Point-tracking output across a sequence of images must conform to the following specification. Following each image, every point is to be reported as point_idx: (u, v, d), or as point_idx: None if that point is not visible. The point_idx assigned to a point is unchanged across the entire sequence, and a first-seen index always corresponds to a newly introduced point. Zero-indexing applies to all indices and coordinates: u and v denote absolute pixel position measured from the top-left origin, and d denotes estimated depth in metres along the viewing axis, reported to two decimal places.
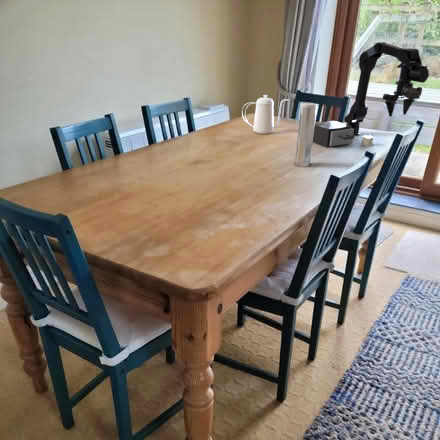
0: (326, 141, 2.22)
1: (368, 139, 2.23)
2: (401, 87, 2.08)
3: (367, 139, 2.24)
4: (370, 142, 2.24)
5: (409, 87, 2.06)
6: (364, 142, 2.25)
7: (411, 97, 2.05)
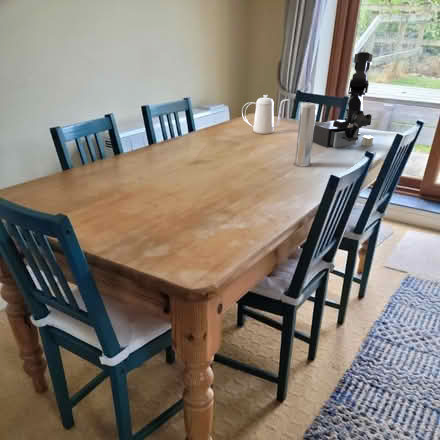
0: (326, 141, 2.22)
1: (368, 139, 2.23)
2: (351, 114, 2.09)
3: (367, 139, 2.24)
4: (370, 142, 2.24)
5: (359, 114, 2.08)
6: (364, 142, 2.25)
7: (360, 124, 2.07)
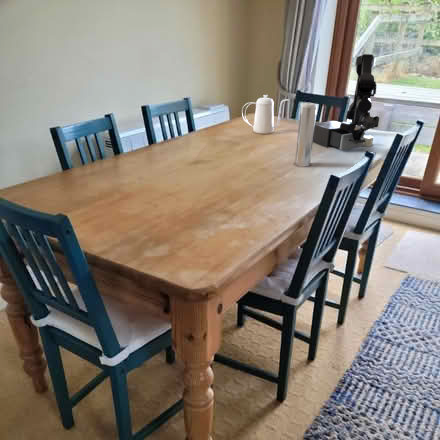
0: (326, 141, 2.22)
1: (368, 139, 2.23)
2: (358, 116, 2.06)
3: (367, 139, 2.24)
4: (370, 142, 2.24)
5: (366, 116, 2.05)
6: (364, 142, 2.25)
7: (368, 126, 2.03)
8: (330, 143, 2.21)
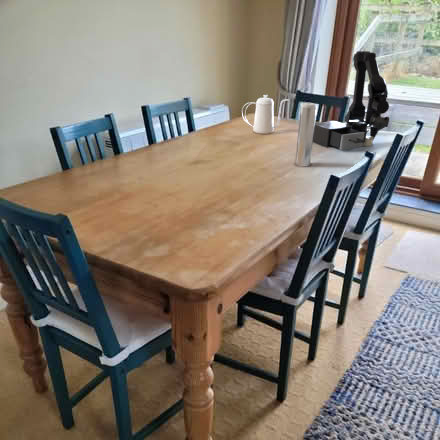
0: (326, 141, 2.22)
1: (368, 139, 2.23)
2: (369, 116, 2.18)
3: (367, 139, 2.24)
4: (370, 142, 2.24)
5: (377, 117, 2.17)
6: (364, 142, 2.25)
7: (379, 126, 2.15)
8: (330, 143, 2.21)
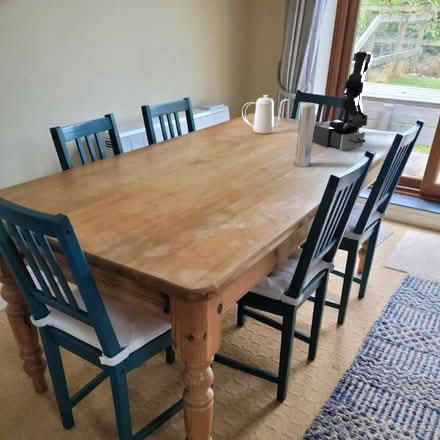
0: (326, 141, 2.22)
1: None
2: (347, 115, 2.12)
3: None
4: None
5: (355, 115, 2.10)
6: None
7: (356, 125, 2.09)
8: (330, 143, 2.21)
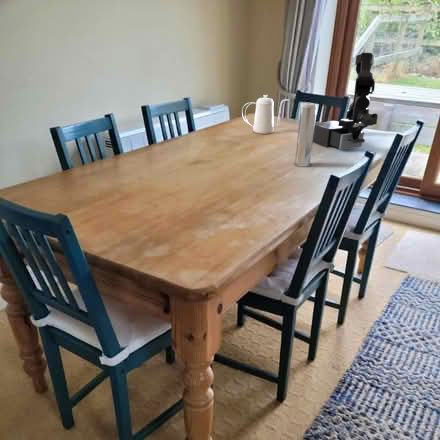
0: (326, 141, 2.22)
1: None
2: (357, 113, 2.06)
3: None
4: None
5: (365, 113, 2.05)
6: None
7: (366, 124, 2.04)
8: (329, 143, 2.22)
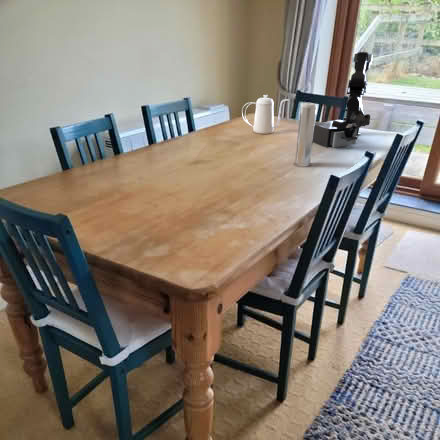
0: (326, 141, 2.22)
1: None
2: (350, 114, 2.10)
3: None
4: None
5: (357, 114, 2.09)
6: None
7: (359, 124, 2.07)
8: None
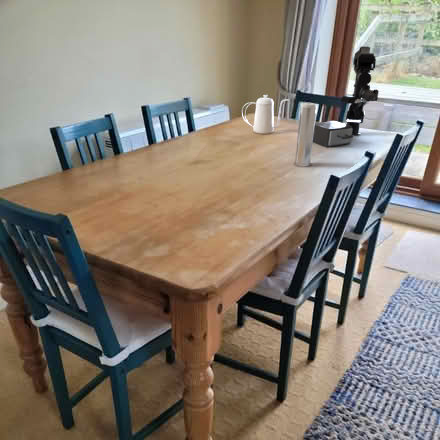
0: (326, 141, 2.22)
1: None
2: (359, 90, 2.17)
3: None
4: None
5: (366, 90, 2.16)
6: None
7: (368, 99, 2.14)
8: None
